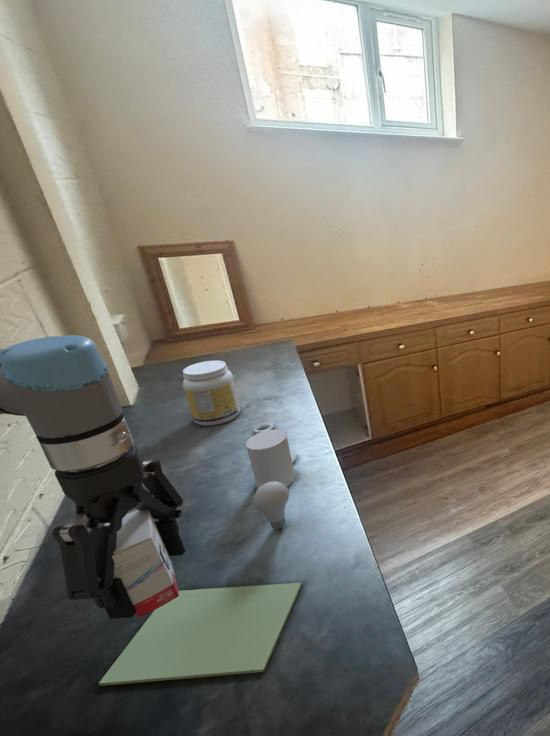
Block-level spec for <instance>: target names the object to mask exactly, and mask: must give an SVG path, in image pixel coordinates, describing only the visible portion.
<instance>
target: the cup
mask: <svg viewBox="0 0 550 736" xmlns="http://www.w3.org/2000/svg"><path fill="white" fill-rule="evenodd" d="M245 447H246V450H247V455H248V458H249V462H250V466H251V470H252V473H253V474H252V475H253V477H254V481H255V484H256V489H257V490H258V489H259V487H261V486H262V485H264V484H265V483H268V482H272V481H277V482H281V483H283V484H284V485H285V486H286V487H287V488H288V487H289V486H291V484H293V483H294V481H295V480H296V473H295V468H294V463H293V462H292V458H291V453H292V452H291V449H290V444H289V439H288V434H287V432H286V431H285V430H282V429H272V430H267V431H263V432H260V433H258V434H256V433H255V434H253V435H252V436H251V437H249V438H248V439H247V440H246V442H245Z"/></svg>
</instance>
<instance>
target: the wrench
mask: <svg viewBox="0 0 550 736" xmlns="http://www.w3.org/2000/svg"><path fill="white" fill-rule="evenodd" d="M274 428H275V427H274V424H272V423H266V424H265V423H264V424H261V425H259V426H257V427H255V428H254V429H253V432H254V434H255V435H256V434H258V433H260V432H263V431H267V430H274ZM290 453H291V458H292V462H293V464H294V463H295V462H296V461H297V456H296V454H294V453H292V452H290Z"/></svg>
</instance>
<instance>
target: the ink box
mask: <svg viewBox="0 0 550 736" xmlns="http://www.w3.org/2000/svg"><path fill="white" fill-rule="evenodd" d="M154 521H155V519H154V518H152V515H151V513H150V512H149V510H141V511H139V510H137V509H135V510H132V511H129V512H127V514H126V515H125V516H124V517H123V518H122V527H121V529H120V530H119V531H118V532H117V540H116V550H115V551H114V555H113V556H112V558H113V560H114V563H115V565H114V578H121V580H122V582H123V585H124V587H125V589H126V591H127V593H128V595H129V597H130V599H131V601H132V604H133V606H134V608H135V610H136V613H135V614H134V615H135V617H136V618H138V619H139V618H142V617H145V616H146V615H148V614H150V613H153V612H154V610H156V609H158V608H159V607H161V606H163V605H165V604H166V603H168V602H170V601H172V600H173V599H175V598H177V597H178V596H179V593H178V591H179V588H178V584H177V580H176V573H175V570H174V566H173V561H172V558H171V556H169V554H168V552H167V550H166V547H165V545H164V543H163V541H162V538H161V536H160V534H159V531H158V529H157V527H156V524H155V522H154ZM106 525H110V523H104V525H103V526H106Z"/></svg>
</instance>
